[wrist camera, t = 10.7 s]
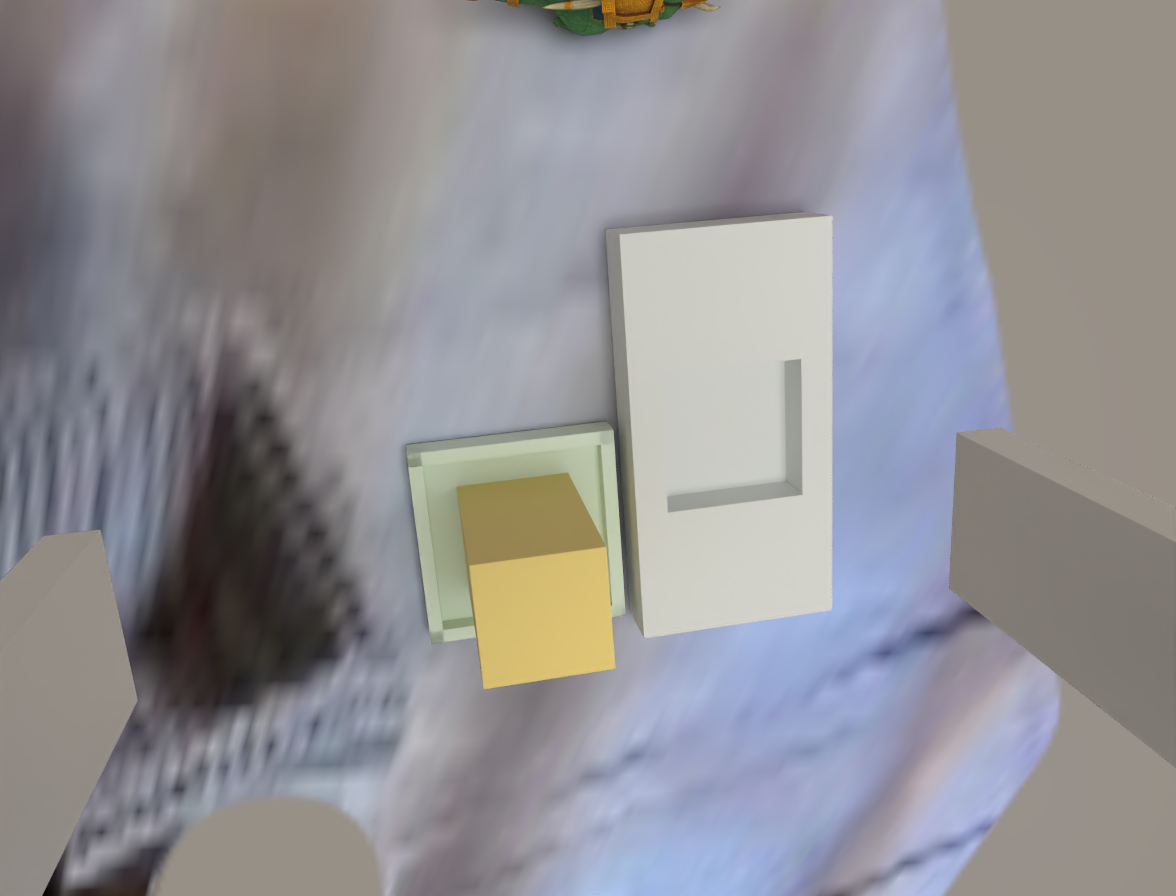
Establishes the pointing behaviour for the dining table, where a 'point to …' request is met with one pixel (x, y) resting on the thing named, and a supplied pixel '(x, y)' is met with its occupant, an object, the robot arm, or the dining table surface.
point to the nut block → (535, 580)
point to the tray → (501, 459)
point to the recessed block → (724, 417)
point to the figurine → (610, 12)
